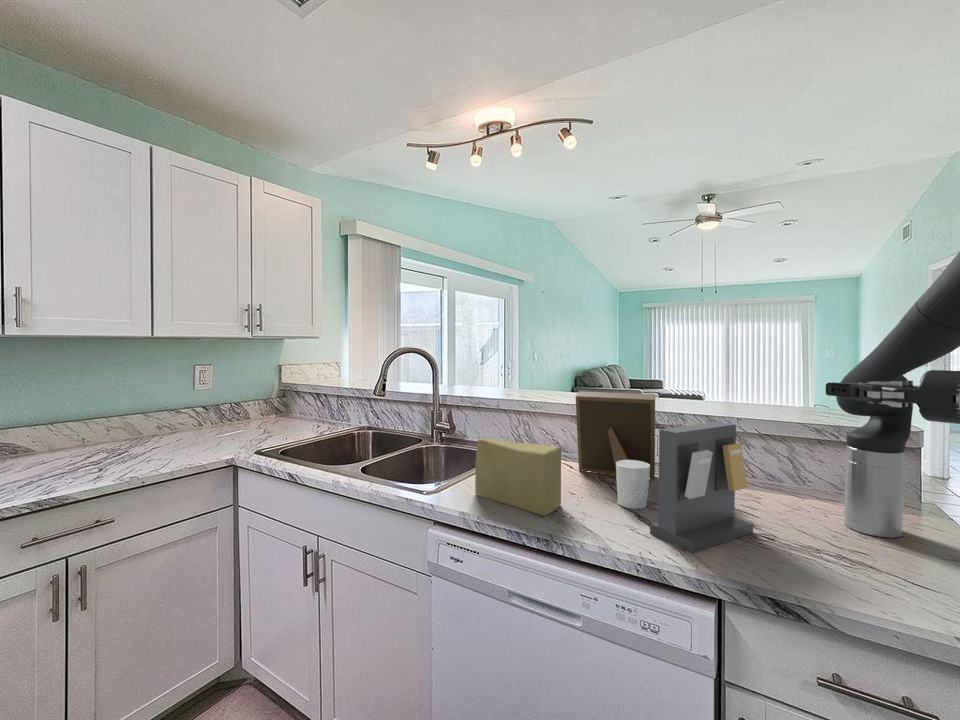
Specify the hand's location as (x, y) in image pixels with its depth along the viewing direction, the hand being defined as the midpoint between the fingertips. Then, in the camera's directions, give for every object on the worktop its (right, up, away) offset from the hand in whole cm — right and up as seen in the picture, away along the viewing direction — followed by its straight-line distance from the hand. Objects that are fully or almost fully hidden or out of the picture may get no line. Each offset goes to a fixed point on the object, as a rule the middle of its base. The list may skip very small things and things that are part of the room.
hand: (827, 388), depth 78 cm
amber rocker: (-7, -21, +14) cm, 27 cm away
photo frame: (-21, -30, +54) cm, 65 cm away
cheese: (-52, -31, +34) cm, 69 cm away
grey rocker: (-18, -22, +10) cm, 30 cm away
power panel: (-14, -31, +16) cm, 37 cm away
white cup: (-23, -31, +32) cm, 50 cm away
